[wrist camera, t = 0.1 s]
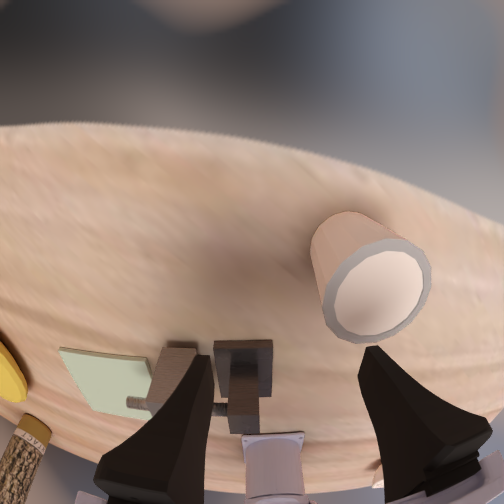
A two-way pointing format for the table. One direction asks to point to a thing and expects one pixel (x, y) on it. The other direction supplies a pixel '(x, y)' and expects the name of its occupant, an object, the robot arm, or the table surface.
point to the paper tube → (22, 459)
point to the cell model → (378, 478)
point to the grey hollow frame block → (168, 375)
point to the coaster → (109, 380)
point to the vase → (11, 378)
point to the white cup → (367, 277)
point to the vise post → (237, 383)
